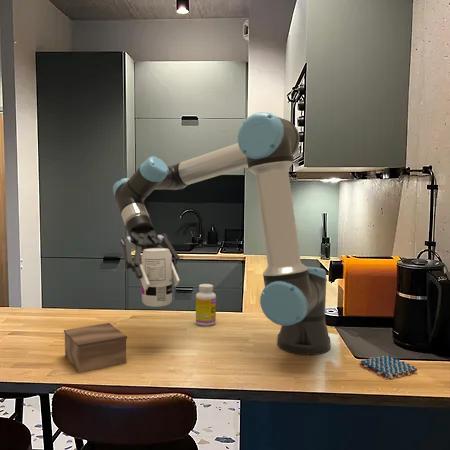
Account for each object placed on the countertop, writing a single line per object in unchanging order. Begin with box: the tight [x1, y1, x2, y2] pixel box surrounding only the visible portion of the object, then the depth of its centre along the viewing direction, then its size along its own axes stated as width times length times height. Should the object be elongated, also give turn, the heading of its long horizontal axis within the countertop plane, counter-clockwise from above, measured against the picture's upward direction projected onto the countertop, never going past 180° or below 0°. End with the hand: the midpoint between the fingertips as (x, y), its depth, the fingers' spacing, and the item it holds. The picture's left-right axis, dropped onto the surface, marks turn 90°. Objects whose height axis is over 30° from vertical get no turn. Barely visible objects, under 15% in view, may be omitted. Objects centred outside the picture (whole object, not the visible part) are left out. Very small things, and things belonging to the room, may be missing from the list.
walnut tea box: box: [63, 322, 128, 373], centre depth 120 cm, size 13×12×7 cm
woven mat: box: [358, 354, 418, 381], centre depth 116 cm, size 10×11×2 cm
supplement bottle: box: [195, 283, 217, 327], centre depth 152 cm, size 7×7×13 cm
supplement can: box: [140, 248, 173, 308], centre depth 127 cm, size 8×8×15 cm
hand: (162, 285), depth 124 cm, fingers closed on supplement can, 8 cm apart
